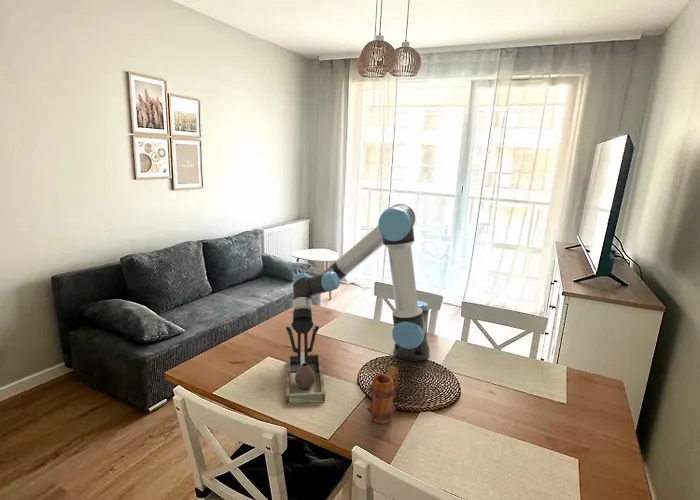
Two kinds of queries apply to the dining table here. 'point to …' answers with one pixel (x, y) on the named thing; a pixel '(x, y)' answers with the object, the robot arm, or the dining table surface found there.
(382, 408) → the mug
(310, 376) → the vase
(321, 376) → the box
